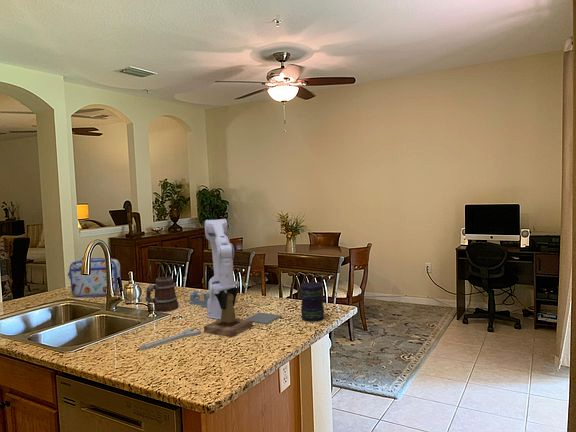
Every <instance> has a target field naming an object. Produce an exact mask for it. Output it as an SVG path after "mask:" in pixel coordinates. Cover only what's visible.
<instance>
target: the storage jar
mask: <svg viewBox="0 0 576 432" xmlns="http://www.w3.org/2000/svg"><path fill="white" fill-rule="evenodd" d="M300 298H301V307H300V309H301V311H300V312H301V320H302V321H304V322H307V323H309V322H310V323H317V322H321V321H324V319H325V316H324V315H325V314H324V313H325V310H324V308H325V307H324V284H323V283H322V282H316V281H309V282H304V283H301V284H300Z"/></svg>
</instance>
